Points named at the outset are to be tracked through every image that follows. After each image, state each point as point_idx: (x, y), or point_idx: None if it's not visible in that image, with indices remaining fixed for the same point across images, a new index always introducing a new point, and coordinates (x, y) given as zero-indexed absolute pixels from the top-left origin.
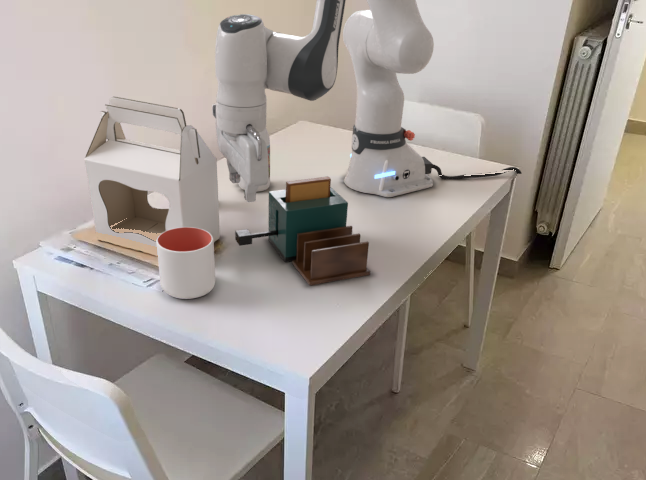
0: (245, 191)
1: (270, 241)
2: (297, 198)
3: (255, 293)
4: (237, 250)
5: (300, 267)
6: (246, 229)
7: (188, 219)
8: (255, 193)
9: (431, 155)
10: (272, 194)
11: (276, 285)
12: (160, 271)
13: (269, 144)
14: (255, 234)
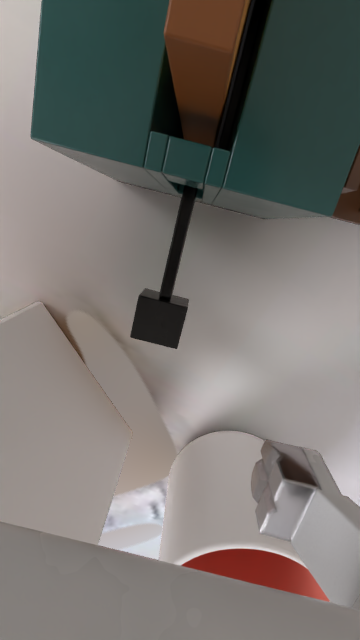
0: (277, 535)
1: (135, 185)
2: (242, 28)
3: (343, 376)
4: (128, 297)
5: (341, 210)
6: (141, 301)
7: (84, 510)
8: (336, 490)
9: None
10: (84, 146)
11: (350, 315)
12: (223, 571)
13: None
14: (173, 281)
